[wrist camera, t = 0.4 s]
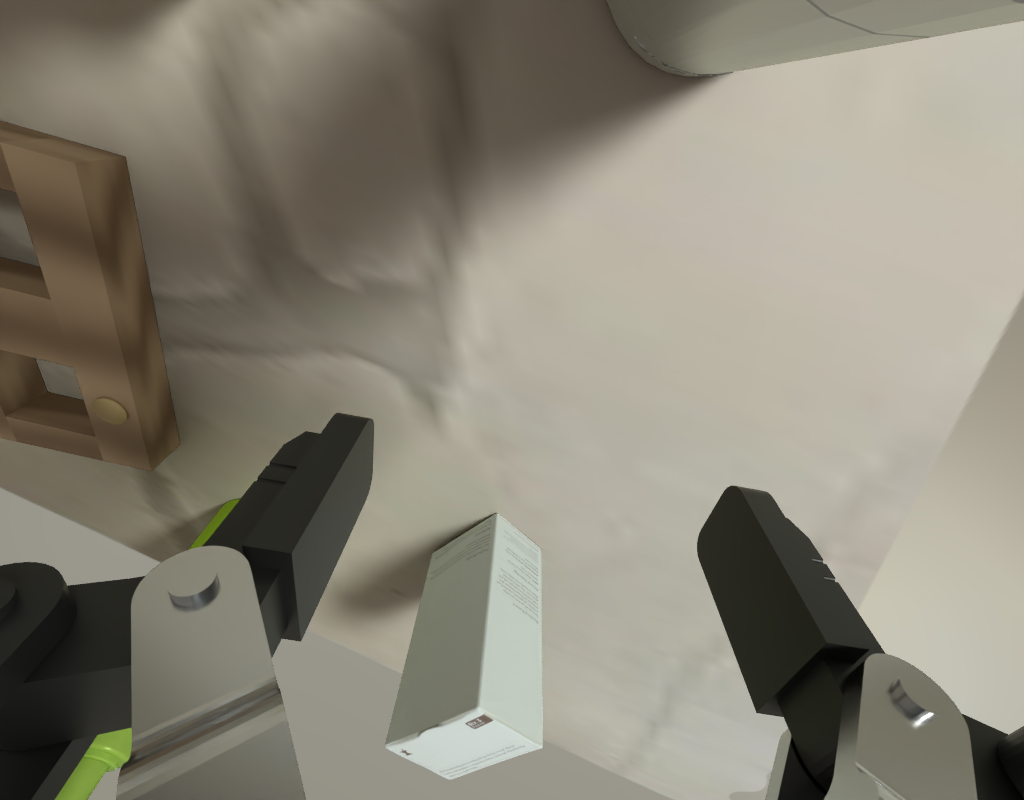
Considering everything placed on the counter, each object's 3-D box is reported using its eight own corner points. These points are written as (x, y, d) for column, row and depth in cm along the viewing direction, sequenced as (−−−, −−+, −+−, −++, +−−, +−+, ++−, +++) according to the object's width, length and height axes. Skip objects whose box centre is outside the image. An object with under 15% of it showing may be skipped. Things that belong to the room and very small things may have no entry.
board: (-133, 81, 22) (-227, 79, 19) (125, 156, 23) (71, 163, 20) (9, 405, 33) (-38, 432, 30) (180, 444, 34) (149, 473, 31)
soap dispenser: (260, 485, 36) (19, 814, 19) (302, 541, 40) (129, 858, 23) (198, 494, 37) (-82, 814, 20) (244, 548, 41) (39, 857, 24)
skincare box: (476, 581, 42) (449, 784, 29) (428, 548, 39) (376, 753, 27) (546, 545, 38) (548, 756, 26) (497, 506, 36) (475, 718, 23)
